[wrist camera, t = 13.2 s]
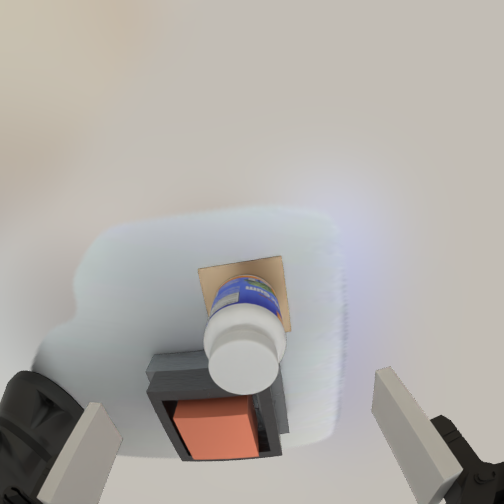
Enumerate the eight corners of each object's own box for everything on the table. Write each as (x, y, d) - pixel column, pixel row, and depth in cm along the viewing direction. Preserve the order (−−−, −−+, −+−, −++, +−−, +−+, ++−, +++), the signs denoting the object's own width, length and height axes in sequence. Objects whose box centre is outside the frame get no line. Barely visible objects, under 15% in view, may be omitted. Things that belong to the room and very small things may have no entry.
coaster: (215, 340, 26) (214, 342, 26) (198, 268, 25) (197, 270, 24) (290, 329, 26) (291, 331, 26) (280, 255, 24) (281, 256, 24)
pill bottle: (290, 305, 25) (312, 371, 15) (243, 341, 26) (242, 416, 16) (248, 259, 24) (249, 308, 14) (200, 299, 25) (177, 364, 15)
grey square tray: (182, 422, 29) (173, 460, 23) (154, 354, 27) (135, 391, 21) (286, 413, 29) (292, 453, 23) (275, 341, 26) (282, 380, 20)
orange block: (200, 424, 26) (193, 459, 21) (183, 382, 25) (173, 418, 20) (257, 419, 26) (258, 456, 21) (247, 376, 25) (247, 414, 20)
